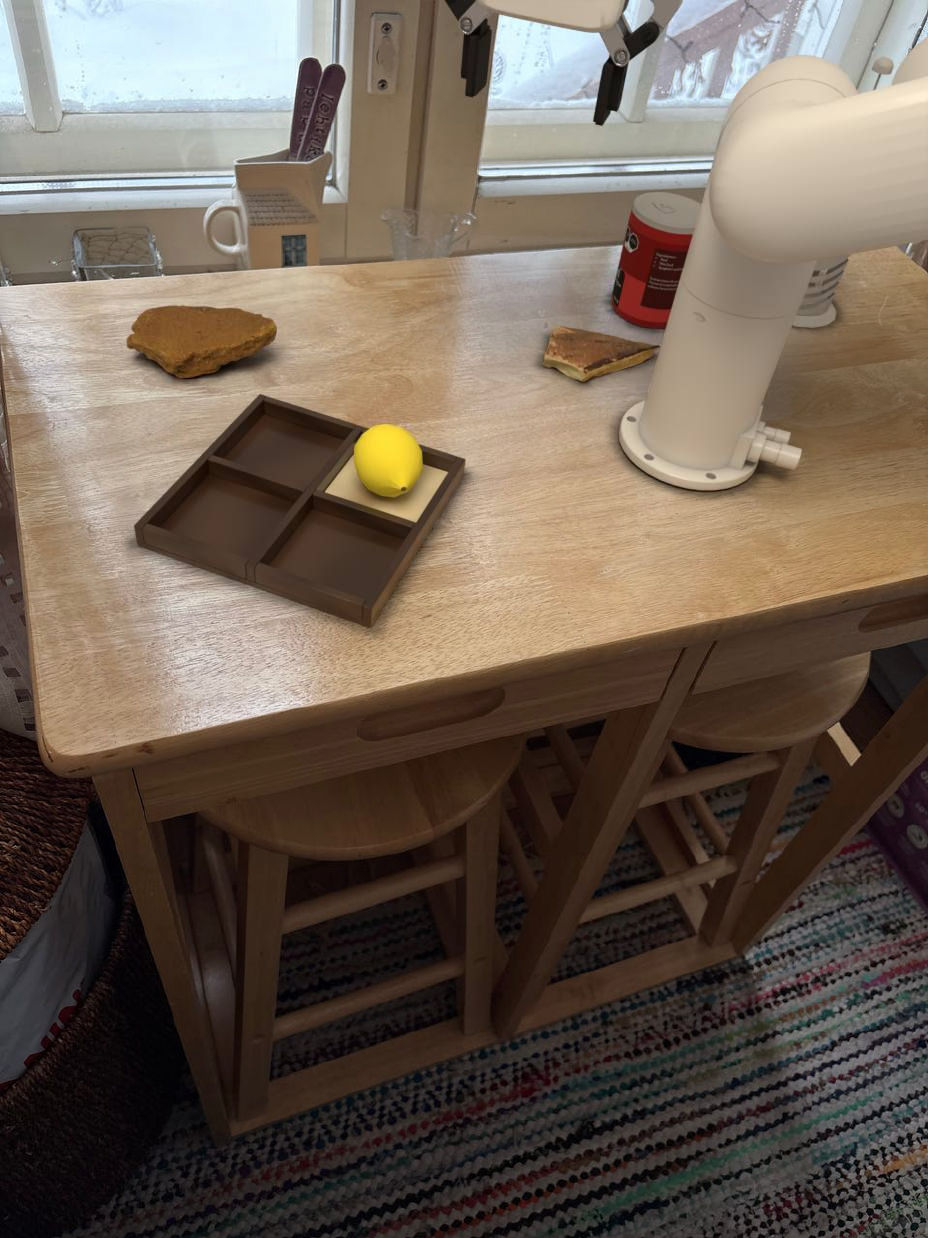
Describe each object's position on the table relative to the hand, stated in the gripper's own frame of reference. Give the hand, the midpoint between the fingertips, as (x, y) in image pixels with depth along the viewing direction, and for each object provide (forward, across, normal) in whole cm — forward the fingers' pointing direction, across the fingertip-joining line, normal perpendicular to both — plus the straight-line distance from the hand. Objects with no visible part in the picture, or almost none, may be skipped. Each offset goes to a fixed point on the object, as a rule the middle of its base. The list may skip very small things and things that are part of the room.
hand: (538, 104), depth 72 cm
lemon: (+25, -4, -17) cm, 30 cm away
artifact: (+25, -28, -6) cm, 38 cm away
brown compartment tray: (+25, -9, -21) cm, 34 cm away
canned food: (+26, +10, +23) cm, 36 cm away
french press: (+26, +25, +34) cm, 49 cm away
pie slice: (+26, +6, +12) cm, 29 cm away
